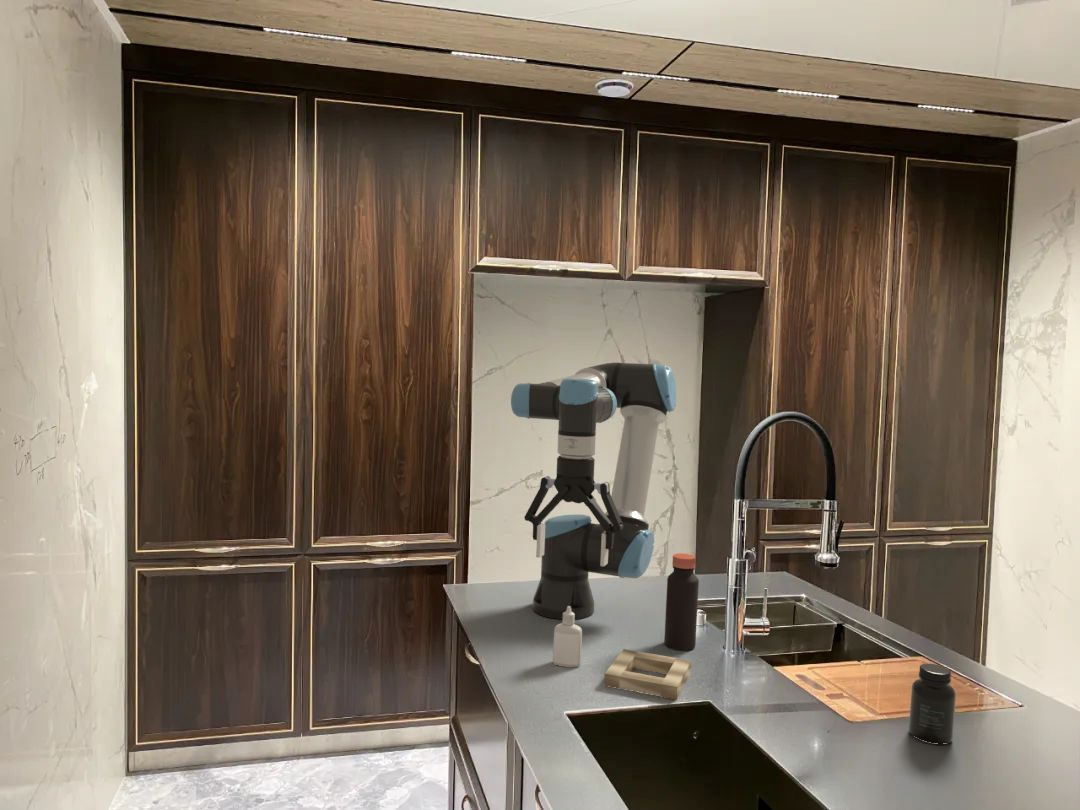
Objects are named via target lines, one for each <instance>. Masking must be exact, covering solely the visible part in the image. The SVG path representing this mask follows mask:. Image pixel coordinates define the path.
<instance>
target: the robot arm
mask: <svg viewBox="0 0 1080 810" xmlns="http://www.w3.org/2000/svg"><path fill="white" fill-rule="evenodd" d="M676 385H677V384H676V378H675V374H674V372H673V370H672V368H671V367H670V366H669V365H665V364H656V363H634V362H633V363H632V362H608V363H606V362H605V363H601V364H596V365H593V366H588V367H584V368H582V369H580V370H578V371H576V373H575V374H574V375H570V376H565V377H562V378H559V379H557V378H556V379H554V380H548V381H546V382H541V383H531V382H526V383H518V384H516V385H515V386H514V387H513V390H512V391H511V395H510V407H511V411H512V413H513V414H514V415H515V416H516V417H518V418H525V419H535V420H536V419H538V420H539V419H540V420H552V421H553V420H554V421H556V420H557V421H558V429H557V430H558V431H557V453H558V454H559V456H557V458H556V477H555V478H551V476H548V475H547V476H545V477H542V478H541V479H540V484H539V488H538V490H537V493H536V494H535V496H534V498H533V501H532V502H531V504H530V505H529V506H528V507H529V508H528V509H527V511H526V513H525V515H524V520H525V521H526V522H530V523H531V524H532V539H533V541H536V547H535V548H536V552H535V553H536V555H535V557H536V558H541V565H540V566H541V567H540V568H541V570H540V571H541V572H540V579H539V582H538V584H537V588H536V590H535V592H534V596H533V599H532V610H533V611H534V613H536V614H537V615H540V616H542V617H545V618H546V617H547V618H551V619H557V620H563V613H564V612H566V610H567V607H568V606H570V607H571V611H572V612H573V613H574V614H575V620H579V619H583V618H587V617H590V616H591V615H593V614H594V612H595V600H594V596H593V592H592V589H591V585H590V581H589V573H592V574H599V575H600V574H601V575H605V576H606V575H607V576H614V577H619V578H620V579H625V578H627V579H638V578H639V579H640V578H641V577H642V576H643V575H644V574H645V573H646V571H647V569H648V568H649V565H650V563H651V561H652V557H653V553H654V549H655V547H654V543H655V535H654V533H653V531H652V530H650V529H649V527H650V523H649V522H648V520H647V519H646V518H645V510H646V506H647V499H648V492H649V487H650V481H651V480H650V479H651V475H652V467H653V462H654V455H655V449H656V443H657V437H658V431H659V425H660V424H661V423H663V422H665V420H666V419H667V414H668V412H669V413H671V412H674V411H675V408H676V404H677V386H676ZM617 409H620V410H619V413H620V415H621V416H622V417H623V418H624V421H623V427H622V434H621V438H620V443H619V450H618V456H617V462H616V467H615V472H614V479H613V484H612V490H610V488H611V487H610V483H609V482H608V481H603V483H600V482H599V483H598V482H595V479H594V477H595V458H594V457H593V456H595V454H596V434H597V424H602V423H604V422H605V421H608V420H609V419H611V418H612V417H613V416H614V415H615V413H616V411H617ZM553 485H554V488H555V489H556V491H557V493H556V494H555V495H554V496H553V497H552V499H551V500H550V501H549V502H548V504H546V505H545V506H544V507H543V509H542V510H541V511H540V512H539V513H538V514H537V512H538V510H539V508H540V507H541V505H542V503H543V501H544V499H545V497H546V496H547V493H548V491H549V489H551V488H552V487H553ZM595 490H596V491H597V493H598V494H600V497H601V500H602V502H603V505H604V507H605V509H606V512H604V511H603V509H602V508H601V506H600V505H599V504H598V503H597V500H596V498H595V497H594V495H593V494H592V493H593V492H595ZM610 492H611V493H610ZM562 501H564V502H565V503H572V502H573V503H574V504H582V503H584V504H585V507H587V508H588V509H589V511H590V512H591V513H592V514H593V516H594V517H595V519H596V521H597V522H598V523H593V522H592V519H591V516H589V515H586V514H565V515H558V516H553V517H550V518H548V519H547V520H545V519H546V518H547V517H548V516H549V515H550V514H551V512H552V511H553V510H554V509H555V508H557V506H558V505H559V504H560V503H561V502H562ZM536 514H537V515H536ZM544 520H545V521H544ZM542 522H544V523H542Z"/></svg>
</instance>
